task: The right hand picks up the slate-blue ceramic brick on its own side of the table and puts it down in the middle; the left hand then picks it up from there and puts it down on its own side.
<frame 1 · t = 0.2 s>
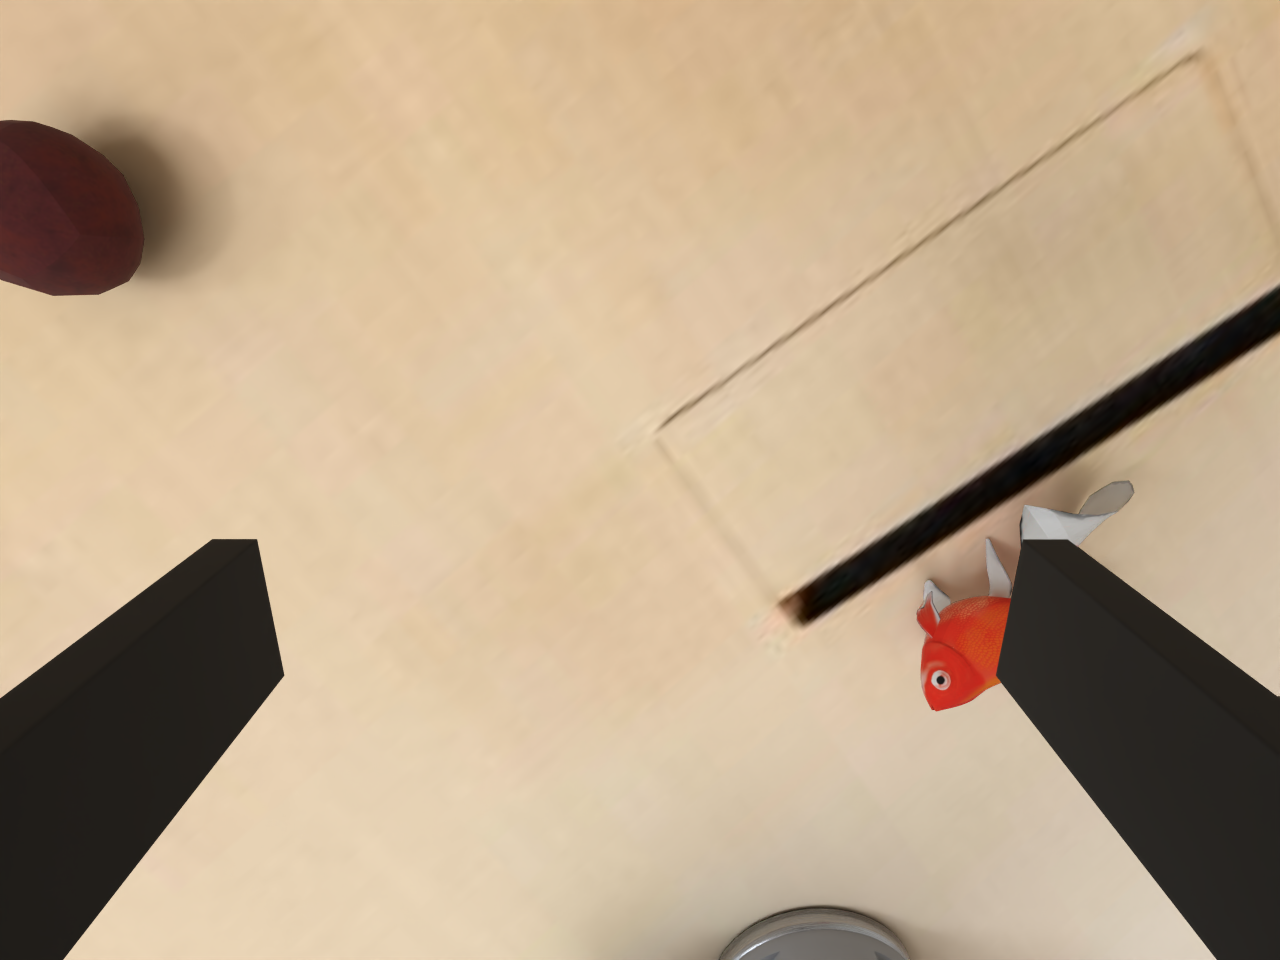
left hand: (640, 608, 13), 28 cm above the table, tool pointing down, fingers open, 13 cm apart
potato: (104, 214, 37), on the table
fish: (991, 557, 43), on the table
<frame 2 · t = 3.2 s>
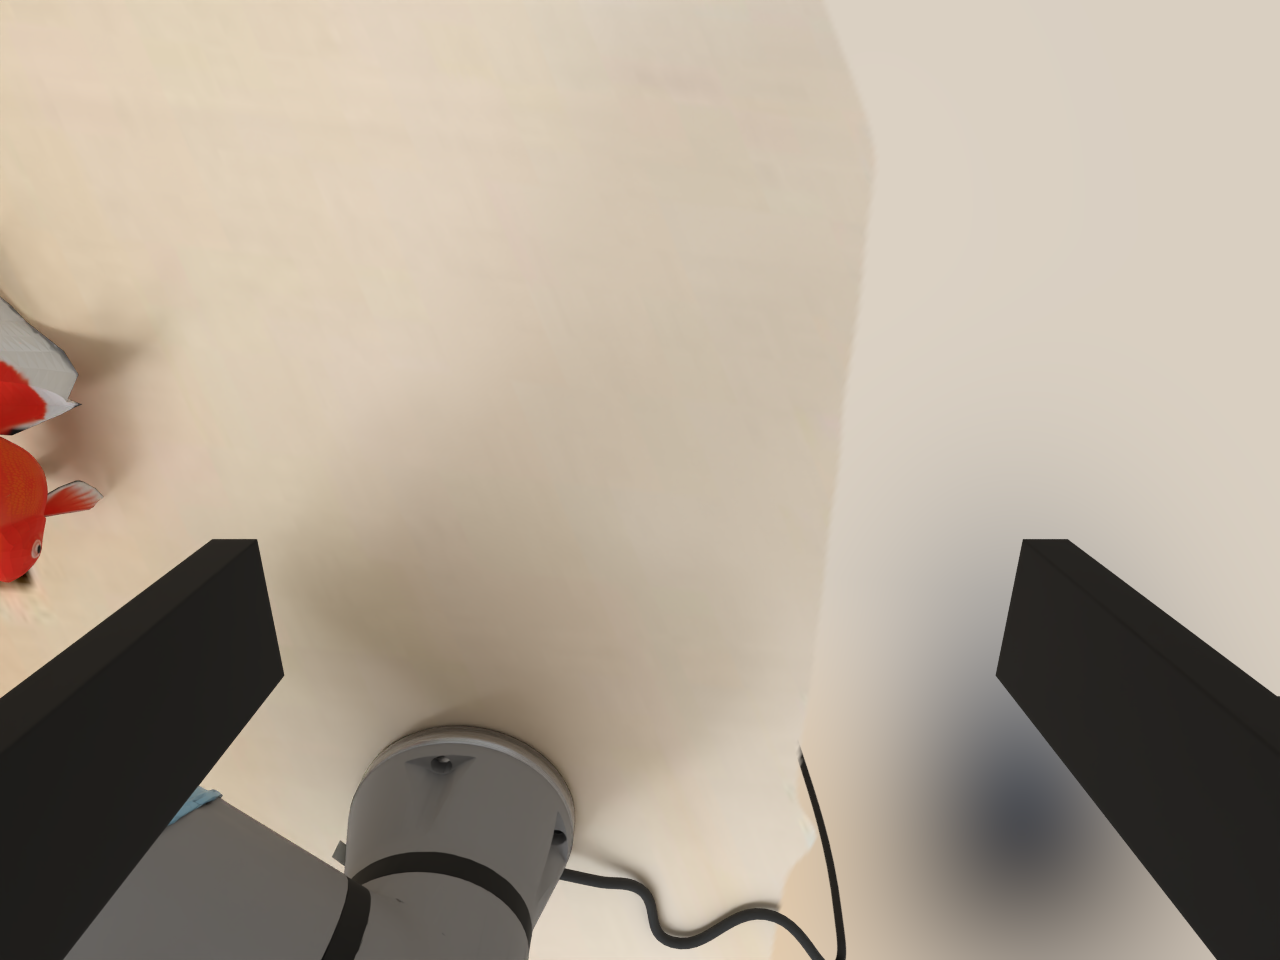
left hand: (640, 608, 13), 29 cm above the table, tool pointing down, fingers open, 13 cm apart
fish: (34, 406, 41), on the table
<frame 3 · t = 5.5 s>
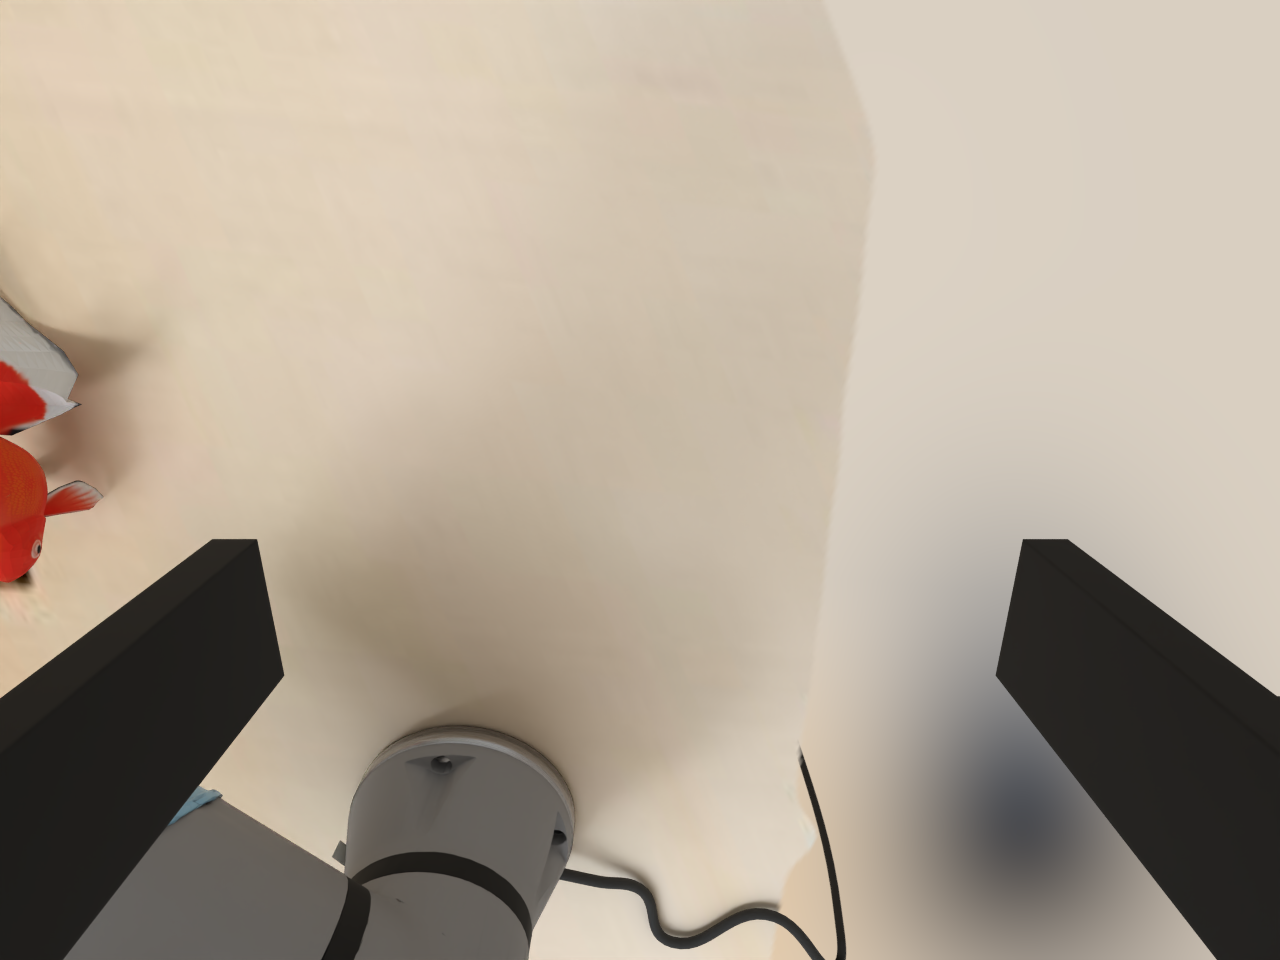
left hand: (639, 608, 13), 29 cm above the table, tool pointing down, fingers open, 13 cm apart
fish: (34, 406, 41), on the table
when the right hand's fingers open (3 cm above the table, at t = 7.8 s): brick drops 1 cm, on the table.
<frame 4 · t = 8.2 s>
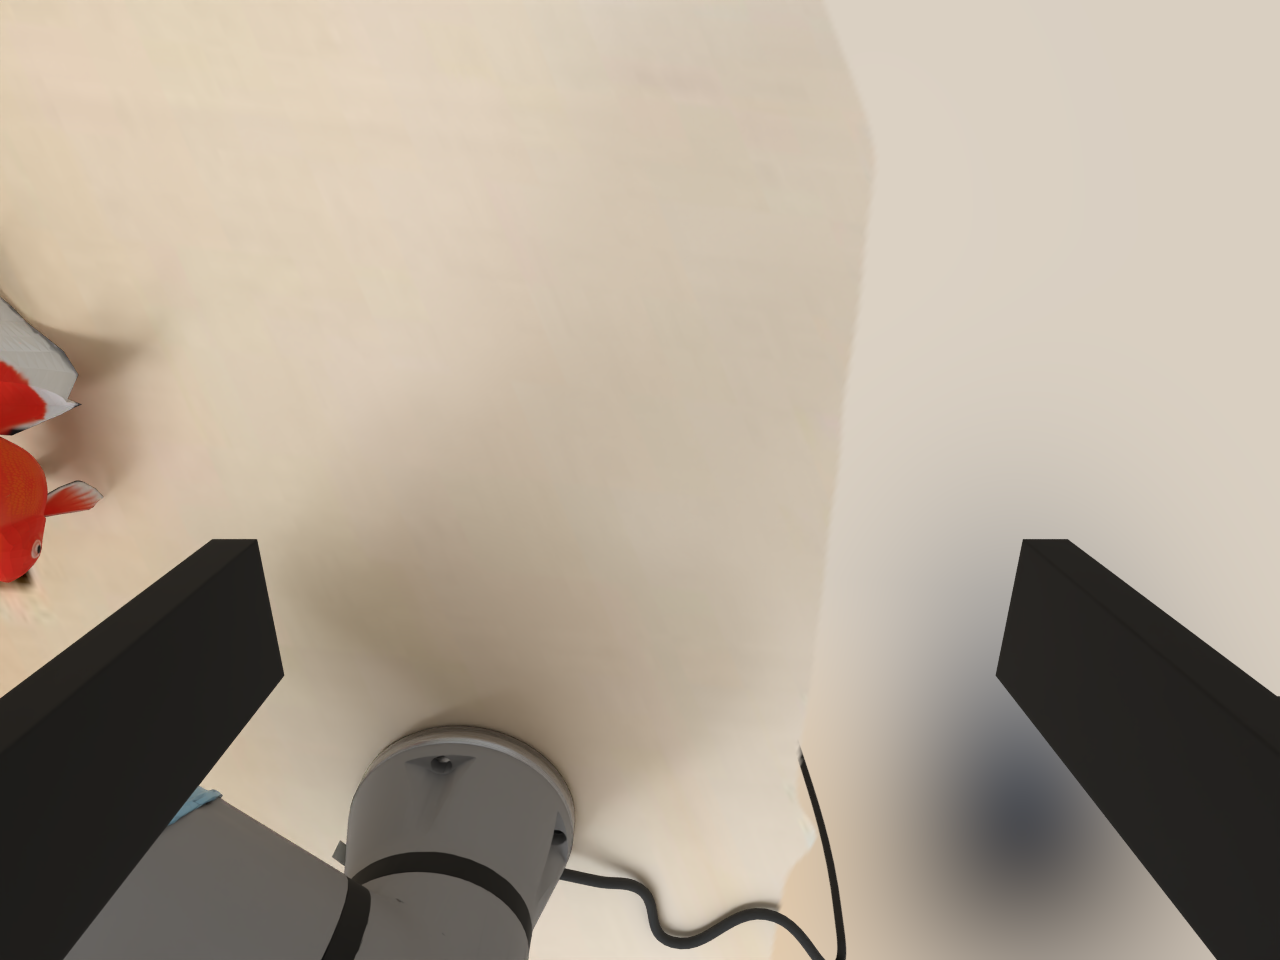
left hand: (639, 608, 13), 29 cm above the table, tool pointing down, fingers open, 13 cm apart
fish: (34, 406, 41), on the table
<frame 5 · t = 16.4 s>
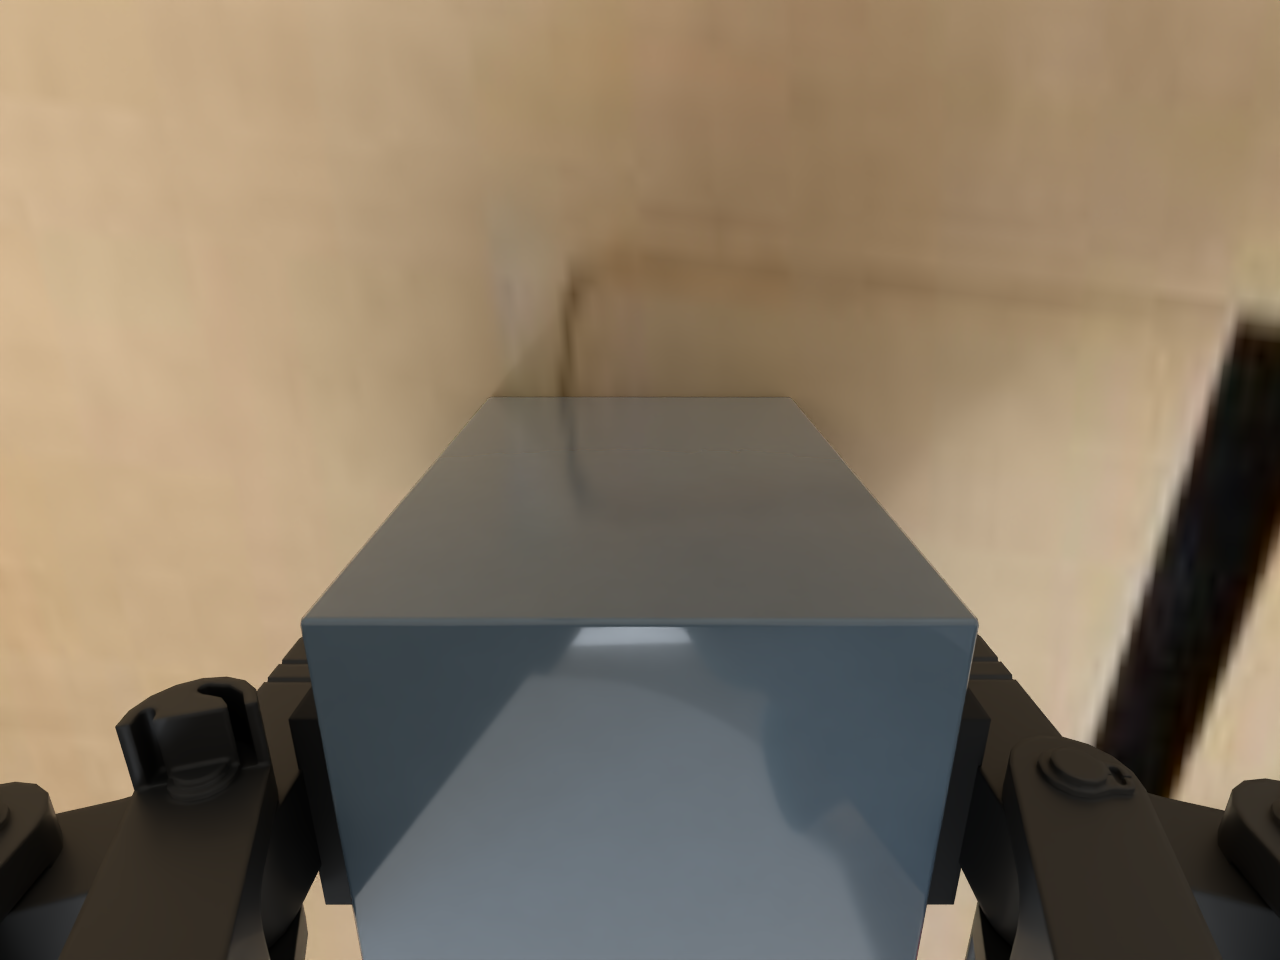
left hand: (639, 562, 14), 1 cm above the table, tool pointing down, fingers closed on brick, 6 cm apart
brick: (639, 536, 15), on the table, touching left hand
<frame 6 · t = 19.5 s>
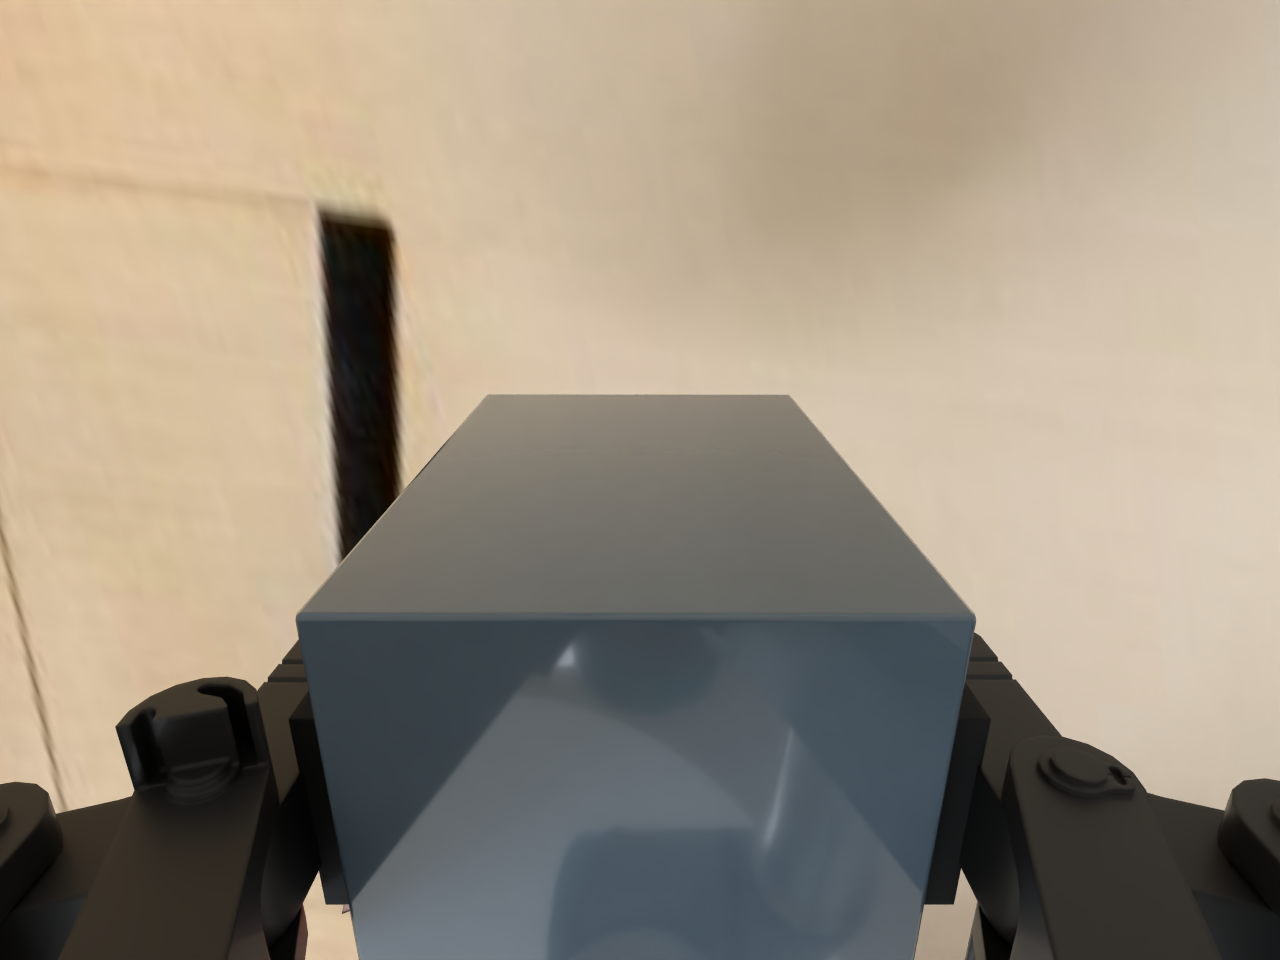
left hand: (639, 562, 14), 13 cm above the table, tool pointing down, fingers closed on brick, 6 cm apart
brick: (638, 534, 15), point 12 cm above the table, touching left hand
when the left hand's fingers open (3 cm above the table, at t = 23.0 s): brick drops 1 cm, on the table.
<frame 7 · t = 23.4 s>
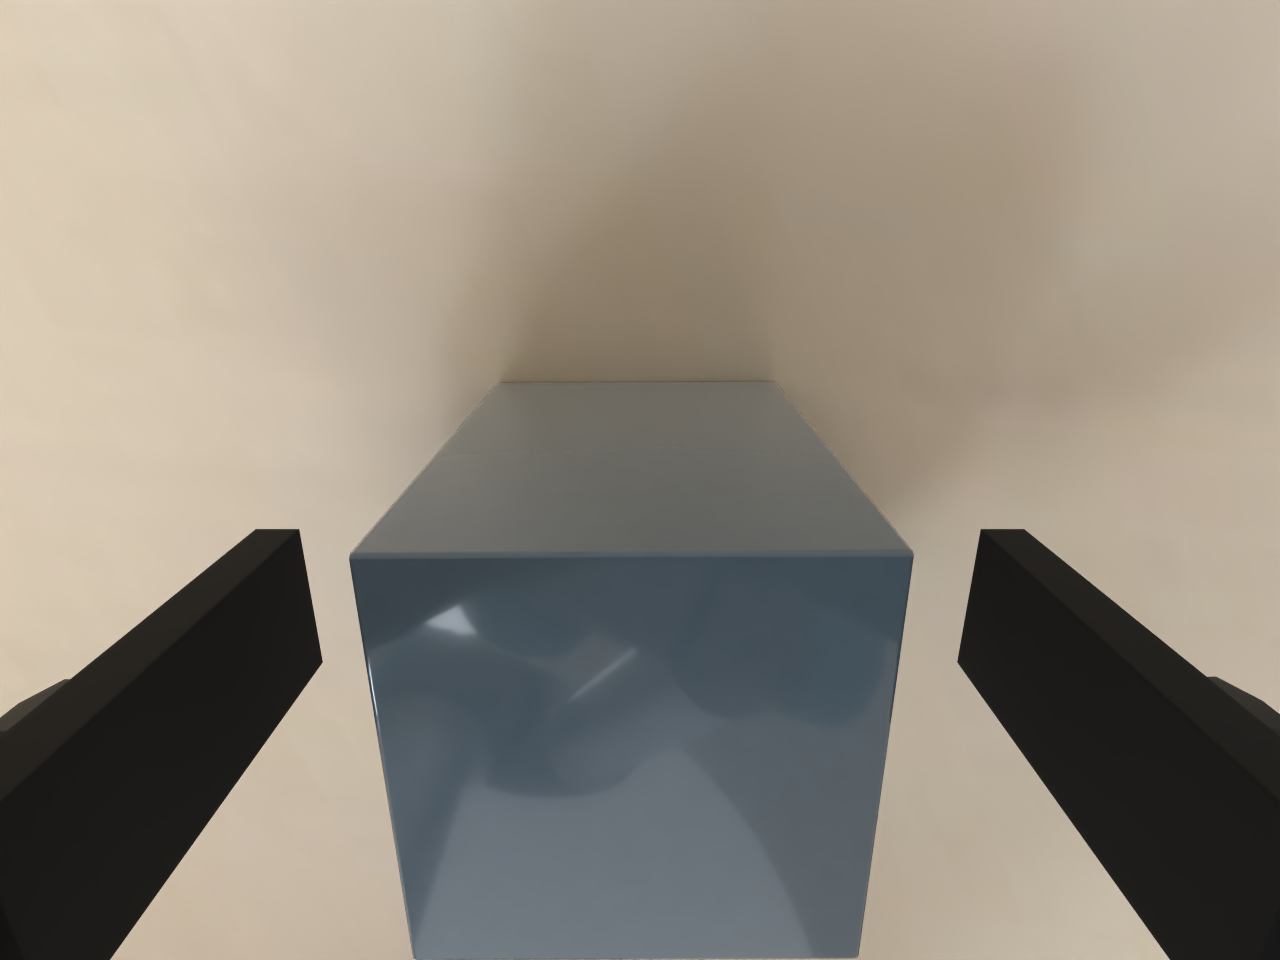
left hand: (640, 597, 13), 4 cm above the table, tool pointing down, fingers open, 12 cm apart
brick: (636, 511, 17), on the table
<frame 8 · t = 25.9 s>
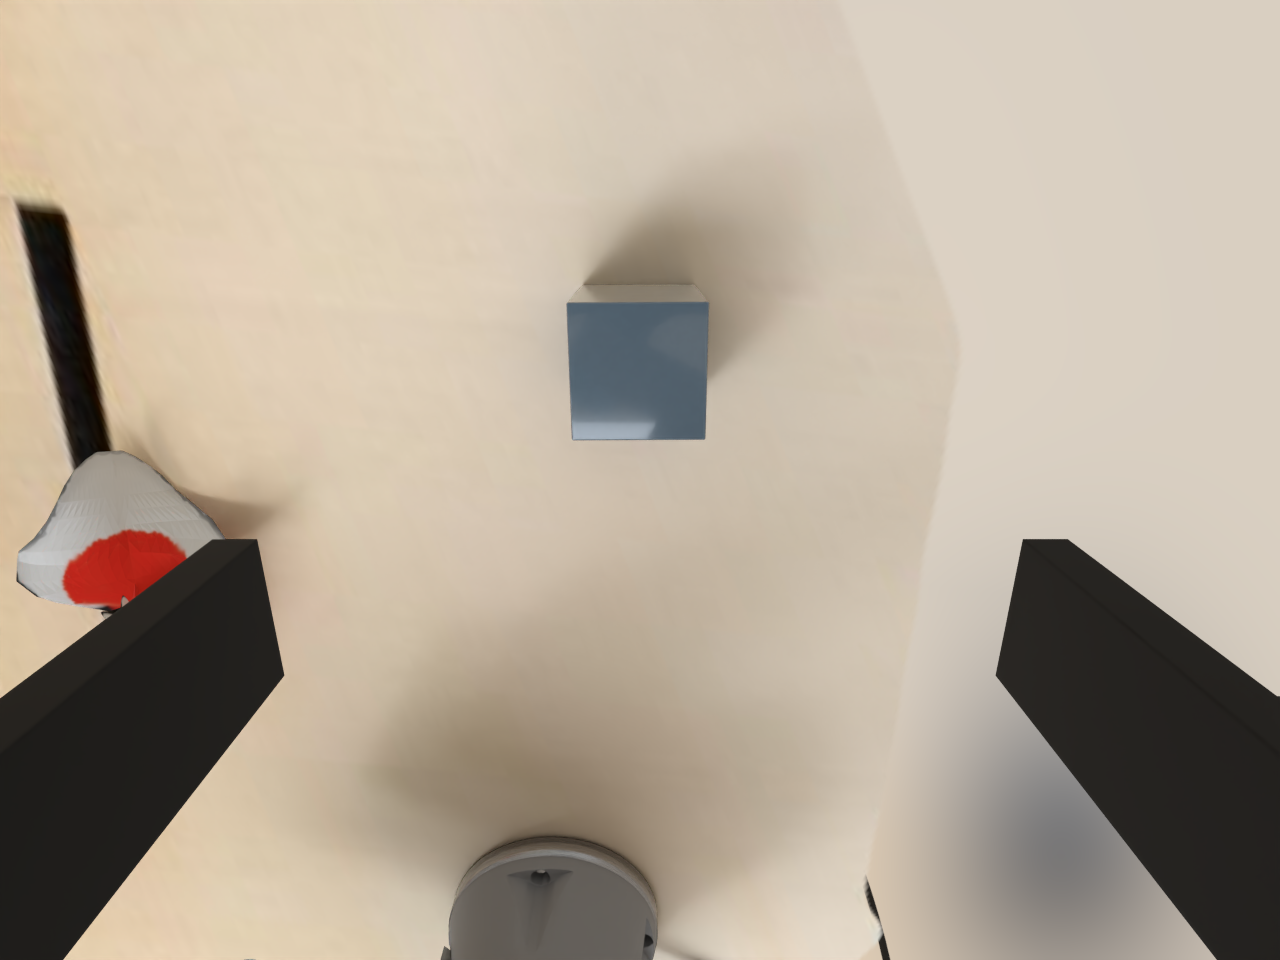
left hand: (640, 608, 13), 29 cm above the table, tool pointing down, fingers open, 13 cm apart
fish: (176, 560, 44), on the table
brick: (638, 342, 40), on the table
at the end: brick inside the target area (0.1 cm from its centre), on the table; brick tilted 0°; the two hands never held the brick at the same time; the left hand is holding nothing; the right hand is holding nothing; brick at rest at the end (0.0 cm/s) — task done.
